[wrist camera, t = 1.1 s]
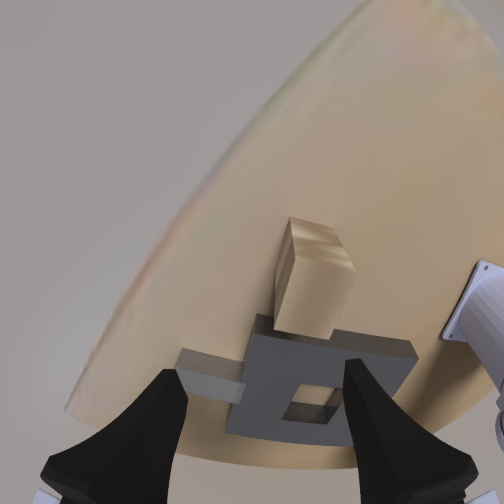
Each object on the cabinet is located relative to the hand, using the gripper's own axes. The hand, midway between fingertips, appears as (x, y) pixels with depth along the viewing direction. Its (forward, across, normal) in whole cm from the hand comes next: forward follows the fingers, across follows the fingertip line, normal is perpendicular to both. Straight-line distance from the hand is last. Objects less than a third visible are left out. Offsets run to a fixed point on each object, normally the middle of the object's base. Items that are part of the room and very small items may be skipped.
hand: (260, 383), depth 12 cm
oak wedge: (+10, -3, -2) cm, 11 cm away
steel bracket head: (+10, -1, +11) cm, 16 cm away
